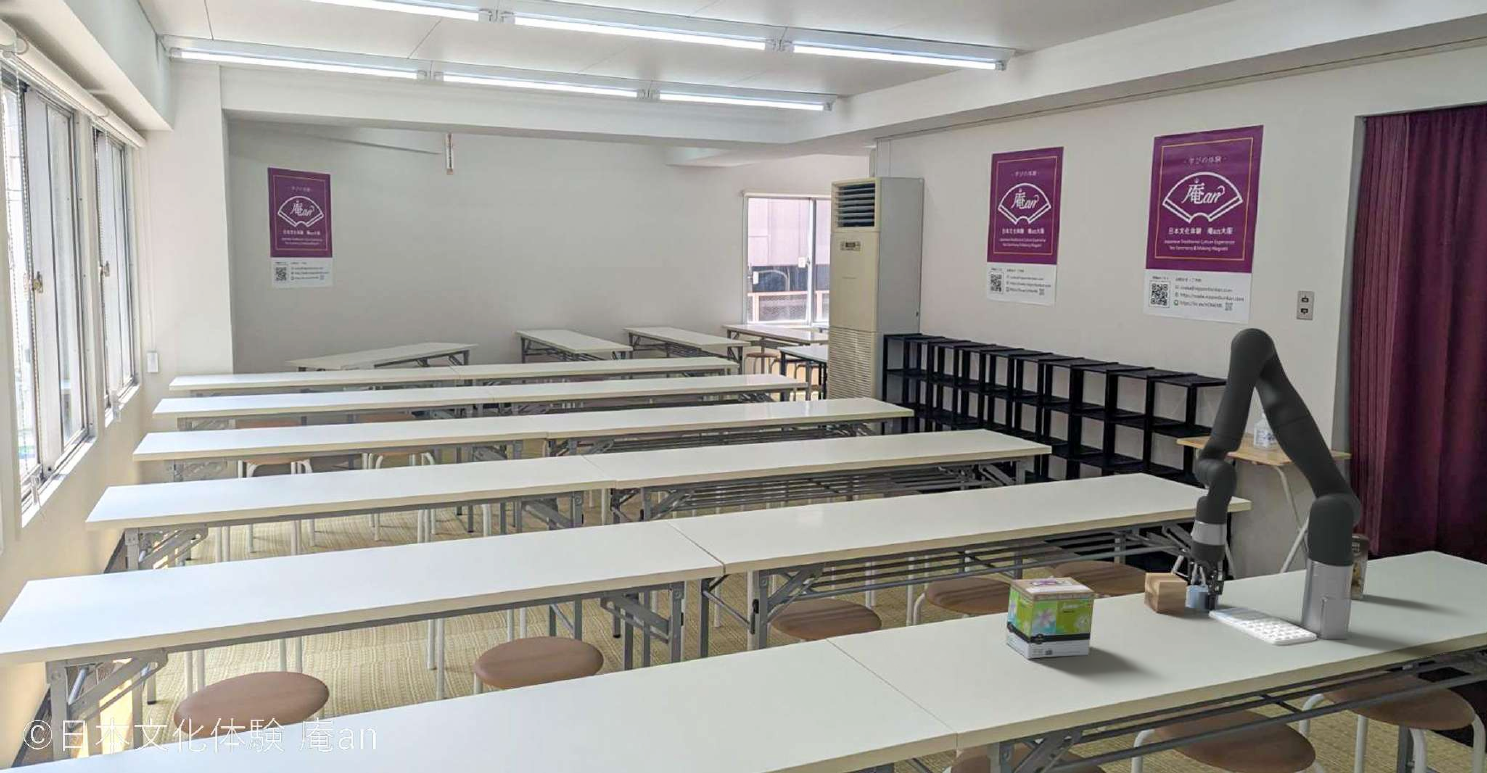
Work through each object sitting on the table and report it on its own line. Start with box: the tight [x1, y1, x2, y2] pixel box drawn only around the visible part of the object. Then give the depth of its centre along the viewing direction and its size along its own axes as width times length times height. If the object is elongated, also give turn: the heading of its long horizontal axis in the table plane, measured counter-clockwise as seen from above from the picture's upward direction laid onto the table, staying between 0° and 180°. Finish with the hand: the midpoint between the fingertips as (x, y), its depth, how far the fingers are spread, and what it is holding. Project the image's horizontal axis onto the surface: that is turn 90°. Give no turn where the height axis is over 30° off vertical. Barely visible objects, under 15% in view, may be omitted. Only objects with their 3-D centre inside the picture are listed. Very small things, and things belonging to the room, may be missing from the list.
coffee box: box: [1349, 532, 1371, 601], centre depth 268 cm, size 9×6×16 cm
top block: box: [1144, 572, 1188, 599], centre depth 253 cm, size 7×7×4 cm
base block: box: [1143, 588, 1187, 614], centre depth 254 cm, size 7×7×4 cm
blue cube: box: [1187, 584, 1220, 612], centre depth 255 cm, size 5×5×5 cm
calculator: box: [1208, 606, 1318, 646], centre depth 243 cm, size 13×20×2 cm, turn 21°
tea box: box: [1004, 576, 1096, 660], centre depth 224 cm, size 15×10×15 cm, turn 105°
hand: (1202, 604), depth 255 cm, fingers open, 6 cm apart
